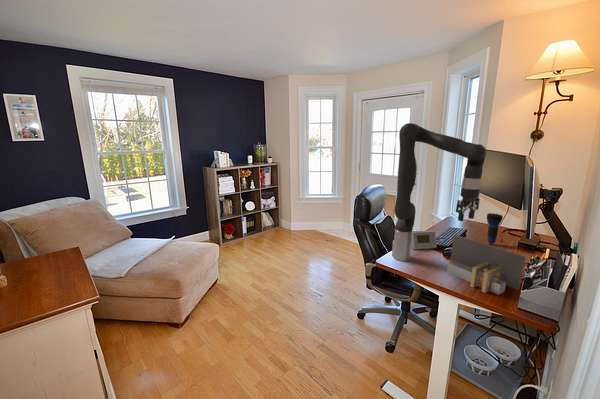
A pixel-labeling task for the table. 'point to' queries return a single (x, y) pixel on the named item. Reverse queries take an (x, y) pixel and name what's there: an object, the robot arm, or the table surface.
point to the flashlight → (493, 226)
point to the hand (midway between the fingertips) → (465, 219)
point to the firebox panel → (488, 259)
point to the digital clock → (424, 240)
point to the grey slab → (466, 273)
